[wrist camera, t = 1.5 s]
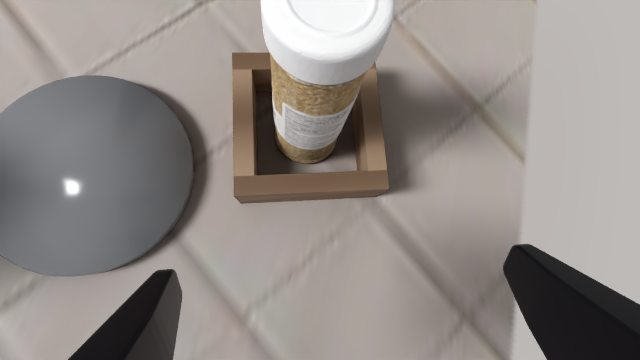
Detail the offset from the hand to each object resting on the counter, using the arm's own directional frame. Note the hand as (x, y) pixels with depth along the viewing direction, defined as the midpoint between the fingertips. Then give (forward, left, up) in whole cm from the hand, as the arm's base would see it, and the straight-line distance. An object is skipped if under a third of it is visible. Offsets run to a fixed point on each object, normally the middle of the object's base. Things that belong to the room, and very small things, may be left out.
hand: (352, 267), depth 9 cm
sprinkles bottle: (+8, +4, -14) cm, 16 cm away
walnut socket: (+8, +4, -14) cm, 16 cm away
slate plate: (0, +16, -14) cm, 21 cm away
